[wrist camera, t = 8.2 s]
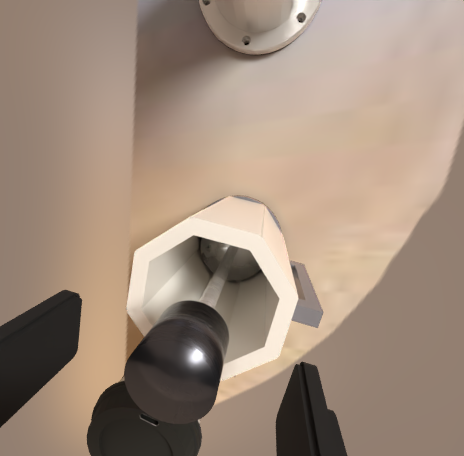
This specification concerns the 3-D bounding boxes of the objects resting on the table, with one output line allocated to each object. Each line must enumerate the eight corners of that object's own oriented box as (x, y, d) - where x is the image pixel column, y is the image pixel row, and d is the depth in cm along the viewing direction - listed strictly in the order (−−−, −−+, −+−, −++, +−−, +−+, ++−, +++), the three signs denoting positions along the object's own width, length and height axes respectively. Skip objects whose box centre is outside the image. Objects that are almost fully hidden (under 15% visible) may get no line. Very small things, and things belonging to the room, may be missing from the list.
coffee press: (205, 185, 30) (137, 197, 14) (309, 212, 29) (359, 255, 13) (189, 266, 32) (115, 350, 17) (284, 293, 31) (300, 410, 16)
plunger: (209, 206, 26) (90, 270, 9) (275, 223, 26) (292, 330, 8) (196, 267, 28) (74, 425, 10) (258, 284, 28) (239, 485, 10)
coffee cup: (149, 346, 36) (67, 464, 21) (171, 290, 33) (95, 379, 19) (211, 376, 35) (171, 517, 21) (238, 321, 33) (214, 436, 18)
